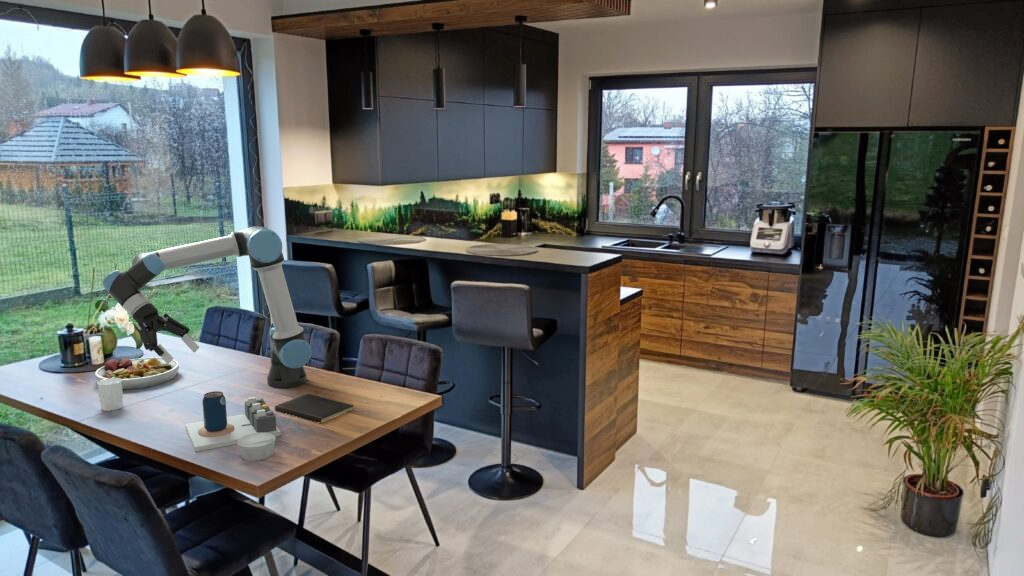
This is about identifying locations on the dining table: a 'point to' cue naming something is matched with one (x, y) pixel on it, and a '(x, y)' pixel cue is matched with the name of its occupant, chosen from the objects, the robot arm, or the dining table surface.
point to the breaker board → (235, 427)
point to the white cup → (110, 393)
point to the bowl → (138, 371)
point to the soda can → (214, 411)
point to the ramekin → (256, 446)
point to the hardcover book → (313, 407)
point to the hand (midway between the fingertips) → (184, 355)
